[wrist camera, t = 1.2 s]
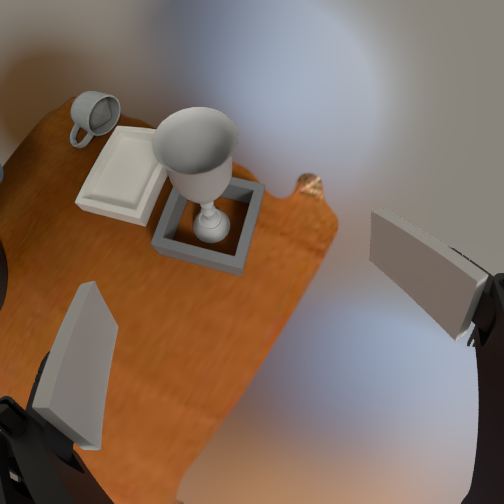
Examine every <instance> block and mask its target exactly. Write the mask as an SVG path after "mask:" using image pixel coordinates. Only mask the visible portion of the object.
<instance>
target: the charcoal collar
mask: <svg viewBox="0 0 504 504" xmlns="http://www.w3.org/2000/svg"><path fill="white" fill-rule="evenodd" d="M264 189H265V184H260V183H256V182H252V181H248V180H244V179H239V178H235V177H231V179H230V182H229V184H228V186H227V187H226V189H225V190H224V192H223V193H222V194H221V195H220V196H219V197H224V198H228V199H232V200H236V201H240V202H244V203H249V204H250V205H249V209H248V212H247V215H246V219H245V222H244V226H243V229H242V233H241V236H240V240H239V243H238V247H237V250H236V254H235V256H231V255H227V254H223V253H219V252H216V251H212V250H208V249H204V248H200V247H197V246H193V245H189V244H185V243H181V242H178V241H174V240H173V238H174V235H175V232H176V229H177V227H178V224H179V221H180V218H181V216H182V213H183V210H184V208H185V205H186V203H187V200H188V199H186V198H185V197H183V196H182V195H181V194H180V193H178V192H177V191H176V190H175V189H174V187H173V188H172V191H171V193H170V195H169V198H168V200H167V203H166V205H165V208H164V210H163V213H162V215H161V218H160V220H159V223H158V225H157V228H156V231H155V233H154V236H153V239H152V241H151V245H152V247H153V248H154V249H155V250H156V251H157V252H158V253H159V254H161V255H165V256H168V257H172V258H175V259H179V260H182V261H186V262H190V263H193V264H197V265H201V266H204V267H208V268H212V269H215V270H219V271H223V272H227V273H230V274H234V275H238V276H242V273H243V270H244V266H245V262H246V258H247V255H248V251H249V247H250V244H251V240H252V236H253V232H254V229H255V225H256V221H257V218H258V214H259V210H260V207H261V203H262V199H263V194H264Z"/></svg>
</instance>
